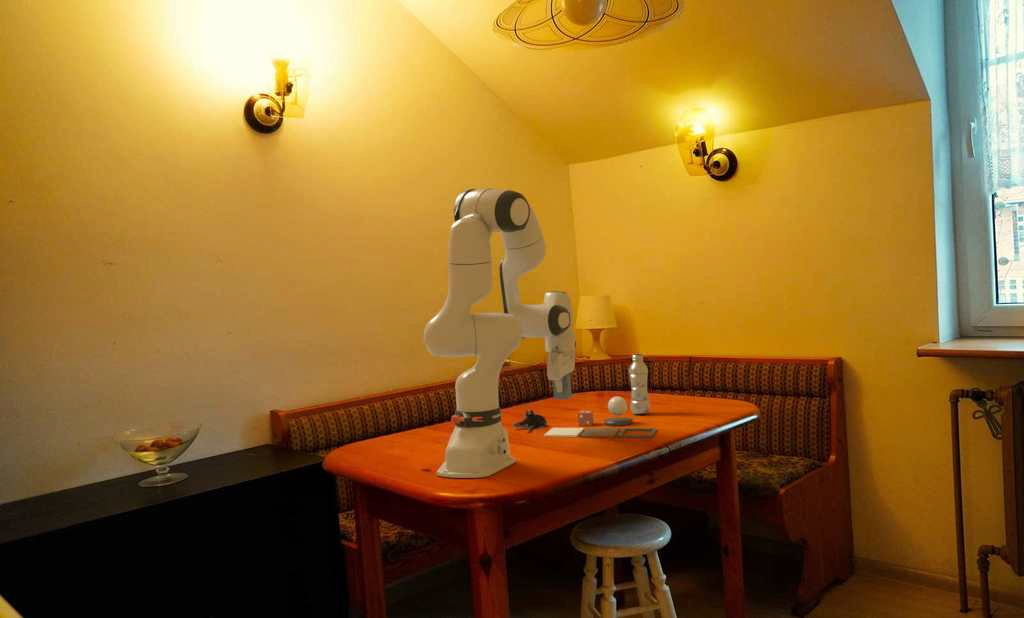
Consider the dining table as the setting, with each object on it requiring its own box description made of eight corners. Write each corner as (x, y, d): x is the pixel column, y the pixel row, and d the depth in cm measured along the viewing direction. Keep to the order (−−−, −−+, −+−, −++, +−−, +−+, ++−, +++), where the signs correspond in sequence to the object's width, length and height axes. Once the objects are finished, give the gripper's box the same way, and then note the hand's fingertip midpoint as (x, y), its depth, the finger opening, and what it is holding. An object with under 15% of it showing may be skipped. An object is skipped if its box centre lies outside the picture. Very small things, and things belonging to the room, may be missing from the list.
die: (591, 425, 225) (590, 412, 225) (578, 425, 226) (577, 412, 226) (593, 423, 229) (592, 410, 229) (581, 423, 230) (580, 410, 230)
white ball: (626, 417, 222) (625, 398, 222) (607, 417, 224) (605, 398, 224) (629, 413, 228) (627, 394, 228) (610, 413, 230) (609, 395, 230)
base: (630, 426, 221) (630, 423, 221) (601, 426, 223) (601, 422, 223) (634, 420, 229) (634, 417, 229) (607, 420, 232) (606, 417, 232)
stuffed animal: (535, 418, 238) (548, 402, 229) (543, 446, 233) (557, 430, 224) (502, 423, 233) (515, 406, 224) (511, 451, 228) (524, 435, 219)
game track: (652, 437, 203) (652, 435, 203) (544, 436, 213) (544, 434, 213) (656, 430, 213) (656, 428, 213) (552, 429, 223) (552, 427, 223)
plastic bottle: (629, 416, 237) (626, 356, 236) (632, 412, 243) (629, 353, 243) (649, 416, 235) (646, 355, 234) (651, 412, 241) (648, 353, 241)
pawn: (568, 399, 213) (566, 365, 213) (554, 399, 215) (552, 365, 214) (571, 396, 218) (569, 363, 217) (557, 396, 219) (555, 363, 218)
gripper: (561, 348, 204) (564, 396, 205) (577, 341, 224) (579, 384, 225) (540, 349, 206) (543, 396, 207) (558, 341, 226) (560, 384, 227)
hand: (562, 390), depth 216 cm, fingers closed on pawn, 4 cm apart
